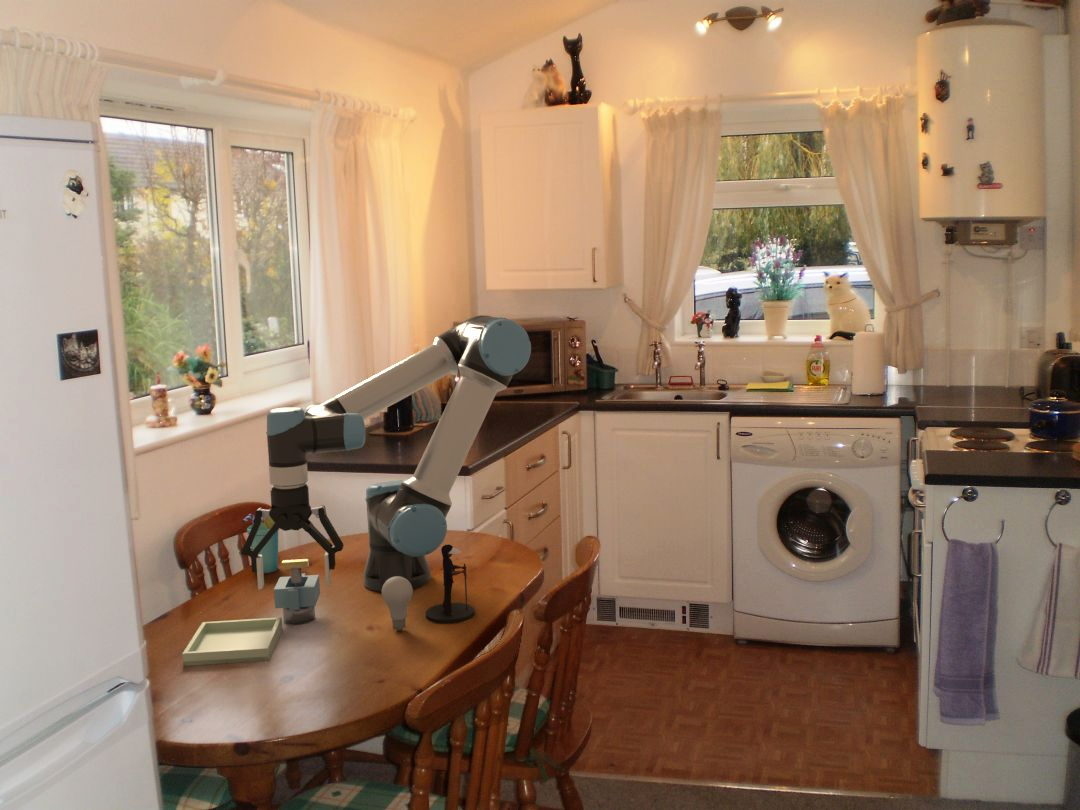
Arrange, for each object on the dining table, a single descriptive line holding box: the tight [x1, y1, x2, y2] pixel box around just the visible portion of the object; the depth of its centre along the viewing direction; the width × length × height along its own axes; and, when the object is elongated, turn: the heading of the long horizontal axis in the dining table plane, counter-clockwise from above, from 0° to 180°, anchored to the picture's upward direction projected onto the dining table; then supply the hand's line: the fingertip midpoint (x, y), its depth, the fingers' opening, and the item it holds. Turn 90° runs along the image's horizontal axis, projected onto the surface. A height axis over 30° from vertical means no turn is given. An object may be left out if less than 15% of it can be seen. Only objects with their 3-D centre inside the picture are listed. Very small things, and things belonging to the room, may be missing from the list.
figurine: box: [425, 544, 476, 625], centre depth 224 cm, size 10×10×15 cm
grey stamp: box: [281, 558, 316, 626], centre depth 225 cm, size 6×6×12 cm
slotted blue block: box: [273, 572, 321, 610], centre depth 225 cm, size 11×8×4 cm
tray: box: [181, 616, 283, 667], centre depth 212 cm, size 16×17×2 cm
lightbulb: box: [381, 576, 414, 631], centre depth 217 cm, size 6×6×11 cm
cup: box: [241, 508, 280, 574], centre depth 259 cm, size 14×8×15 cm, turn 162°
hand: (294, 586), depth 225 cm, fingers open, 13 cm apart
